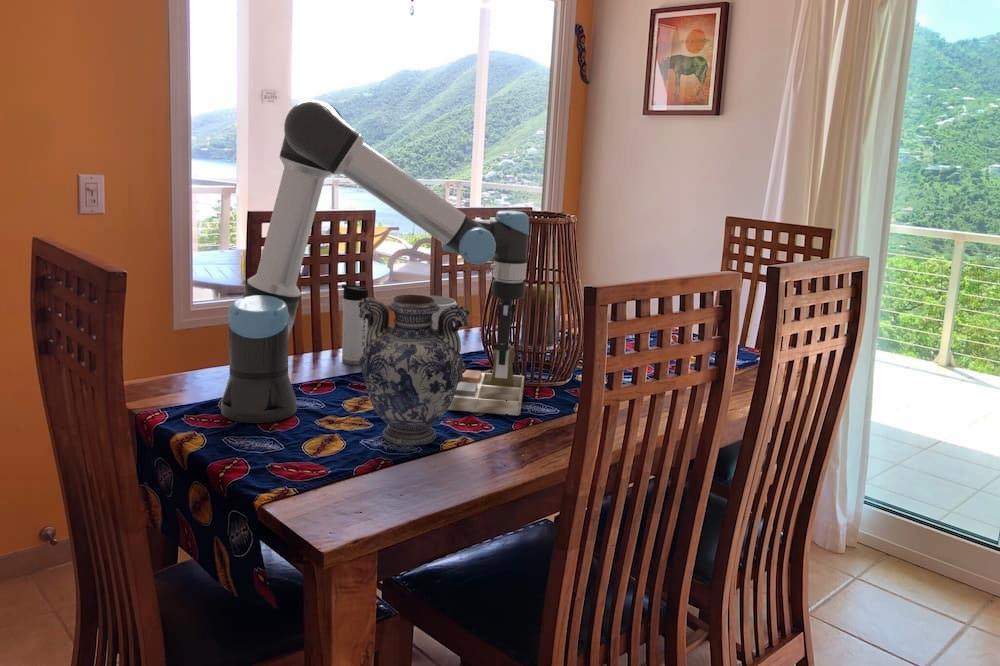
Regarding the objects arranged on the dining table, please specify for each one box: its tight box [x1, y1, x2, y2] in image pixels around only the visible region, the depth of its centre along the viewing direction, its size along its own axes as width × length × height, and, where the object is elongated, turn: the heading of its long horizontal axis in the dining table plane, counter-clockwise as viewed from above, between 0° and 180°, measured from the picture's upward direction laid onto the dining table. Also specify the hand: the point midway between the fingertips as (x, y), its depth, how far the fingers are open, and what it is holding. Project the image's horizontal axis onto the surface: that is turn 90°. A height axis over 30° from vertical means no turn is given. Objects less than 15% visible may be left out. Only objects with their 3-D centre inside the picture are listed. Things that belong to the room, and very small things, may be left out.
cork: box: [490, 347, 516, 387], centre depth 194 cm, size 6×6×11 cm
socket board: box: [447, 369, 525, 416], centre depth 190 cm, size 16×20×4 cm
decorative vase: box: [358, 294, 470, 447], centre depth 161 cm, size 21×19×28 cm
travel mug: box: [341, 284, 369, 366], centre depth 210 cm, size 6×7×20 cm
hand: (503, 369), depth 194 cm, fingers open, 13 cm apart
